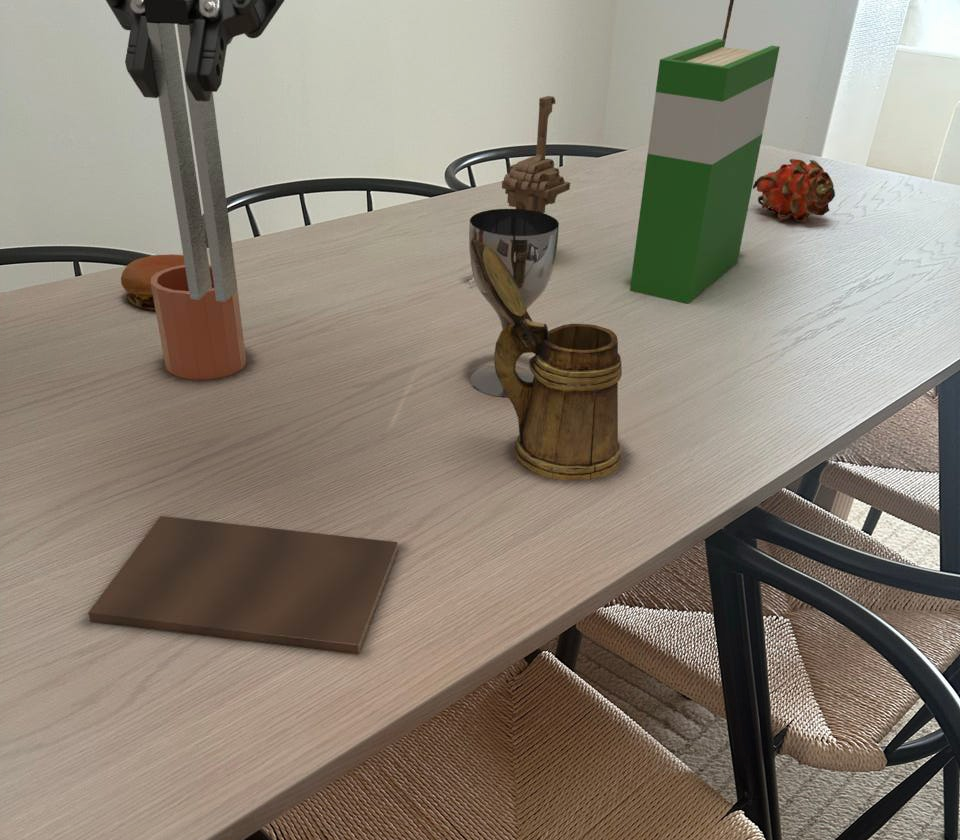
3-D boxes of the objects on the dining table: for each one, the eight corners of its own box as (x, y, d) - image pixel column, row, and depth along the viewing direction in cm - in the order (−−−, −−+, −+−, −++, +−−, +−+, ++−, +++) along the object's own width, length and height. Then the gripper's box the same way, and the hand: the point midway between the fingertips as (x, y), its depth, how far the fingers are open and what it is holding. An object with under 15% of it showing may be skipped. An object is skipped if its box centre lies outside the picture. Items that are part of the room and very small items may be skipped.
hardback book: (683, 250, 130) (717, 38, 114) (737, 261, 127) (779, 46, 112) (629, 290, 118) (659, 59, 102) (688, 303, 115) (728, 68, 100)
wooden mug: (472, 428, 89) (478, 220, 78) (622, 443, 88) (651, 234, 76) (455, 477, 82) (459, 256, 71) (618, 494, 81) (648, 272, 69)
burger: (136, 286, 113) (128, 245, 110) (219, 287, 114) (213, 246, 111) (118, 320, 105) (110, 276, 102) (207, 321, 106) (201, 277, 103)
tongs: (189, 299, 66) (142, -3, 55) (202, 286, 68) (158, -8, 57) (226, 302, 66) (185, -1, 55) (237, 289, 67) (200, -6, 57)
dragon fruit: (828, 241, 140) (749, 235, 146) (850, 192, 141) (771, 189, 148) (820, 196, 133) (736, 192, 139) (843, 146, 134) (760, 144, 141)
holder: (154, 383, 94) (137, 289, 88) (184, 351, 100) (169, 261, 94) (231, 390, 93) (218, 296, 88) (257, 358, 99) (247, 267, 93)
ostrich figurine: (521, 246, 129) (530, 91, 117) (565, 257, 126) (578, 99, 115) (444, 280, 118) (445, 113, 106) (490, 294, 115) (497, 123, 104)
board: (92, 630, 65) (87, 612, 64) (163, 532, 74) (160, 515, 73) (358, 663, 63) (357, 645, 63) (398, 558, 73) (397, 541, 72)
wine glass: (454, 390, 95) (457, 228, 85) (480, 358, 101) (486, 204, 91) (533, 404, 93) (545, 241, 84) (555, 371, 99) (569, 215, 89)
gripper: (71, -249, 55) (21, 38, 54) (313, -240, 54) (269, 53, 53) (129, -131, 63) (86, 123, 61) (342, -122, 62) (305, 138, 60)
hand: (171, 89), depth 57 cm, fingers closed on tongs, 2 cm apart
